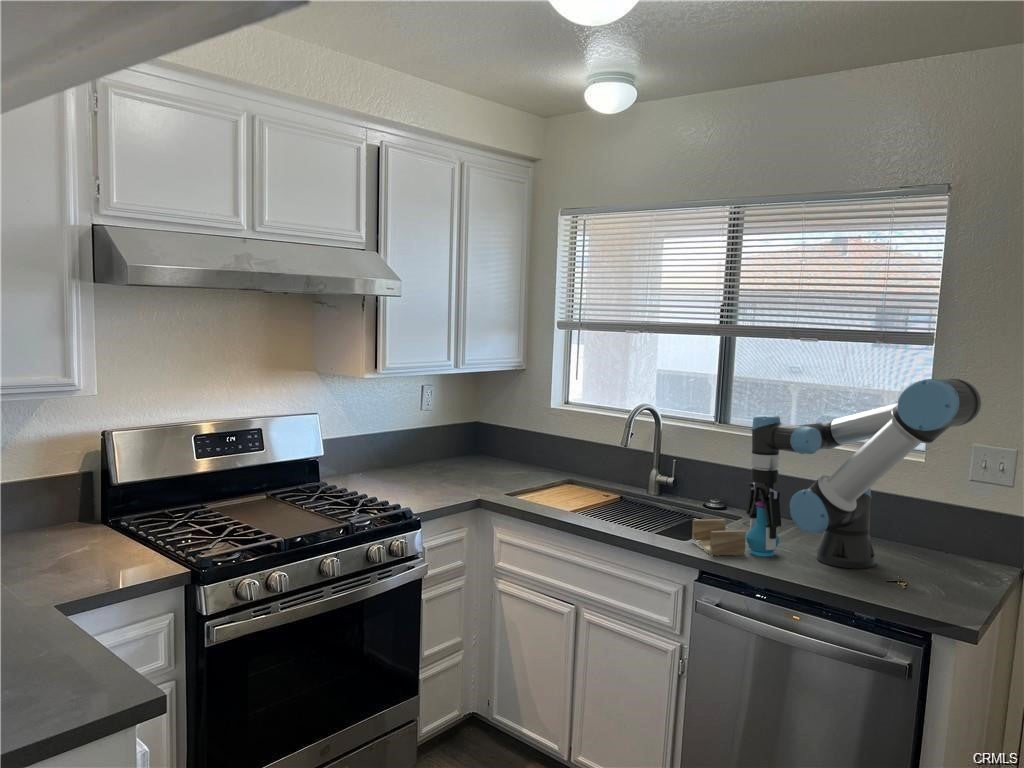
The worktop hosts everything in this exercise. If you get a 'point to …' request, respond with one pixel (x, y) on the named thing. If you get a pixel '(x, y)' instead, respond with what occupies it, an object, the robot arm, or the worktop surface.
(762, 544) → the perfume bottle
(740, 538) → the holder
